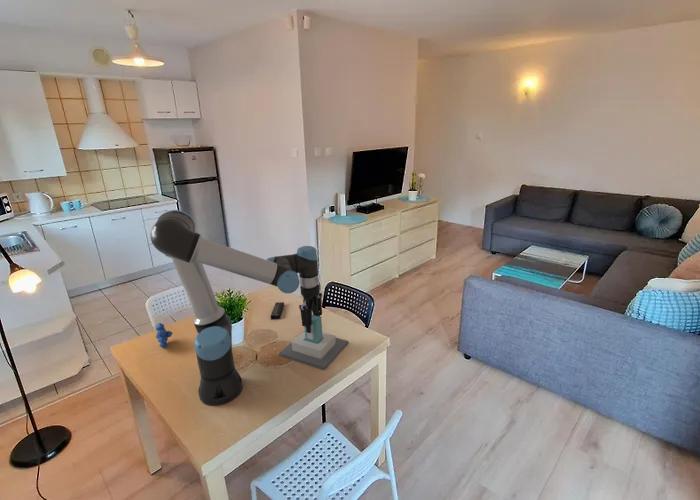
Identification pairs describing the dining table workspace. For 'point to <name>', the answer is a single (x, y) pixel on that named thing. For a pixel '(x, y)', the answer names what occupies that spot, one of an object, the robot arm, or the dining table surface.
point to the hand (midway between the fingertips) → (313, 335)
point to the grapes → (162, 335)
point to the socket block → (314, 350)
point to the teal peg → (315, 330)
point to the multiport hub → (277, 310)
